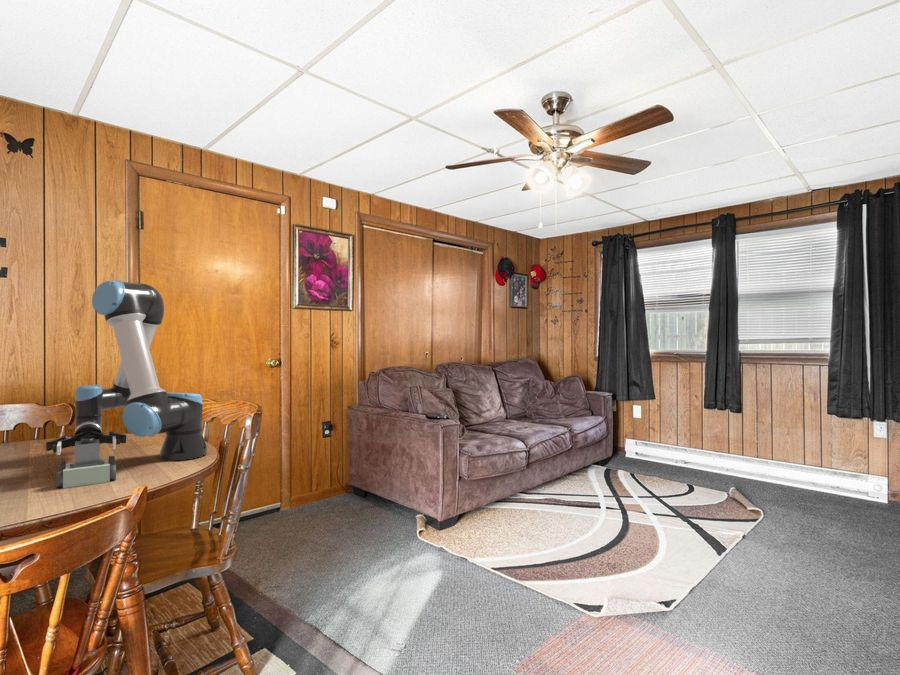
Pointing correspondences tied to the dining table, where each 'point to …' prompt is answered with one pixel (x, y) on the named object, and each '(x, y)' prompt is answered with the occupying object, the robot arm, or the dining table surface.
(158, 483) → the dining table surface
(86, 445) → the grey upright block
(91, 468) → the toy car chassis
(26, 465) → the dining table surface
